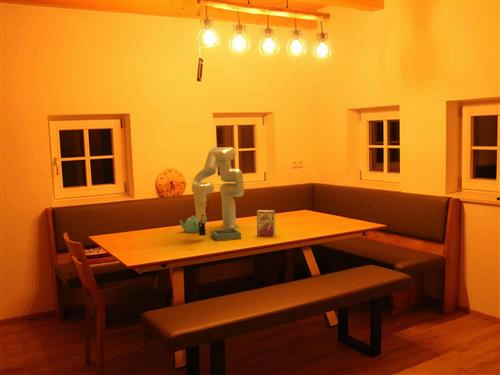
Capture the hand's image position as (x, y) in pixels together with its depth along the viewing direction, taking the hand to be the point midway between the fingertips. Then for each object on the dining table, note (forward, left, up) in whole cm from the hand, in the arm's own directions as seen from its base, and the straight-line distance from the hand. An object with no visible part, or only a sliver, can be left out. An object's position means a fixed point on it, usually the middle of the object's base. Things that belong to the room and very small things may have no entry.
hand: (202, 231), depth 330 cm
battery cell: (0, 0, -2) cm, 2 cm away
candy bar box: (+4, +42, -6) cm, 42 cm away
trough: (-1, +16, -5) cm, 17 cm away
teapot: (-33, +1, -6) cm, 33 cm away
